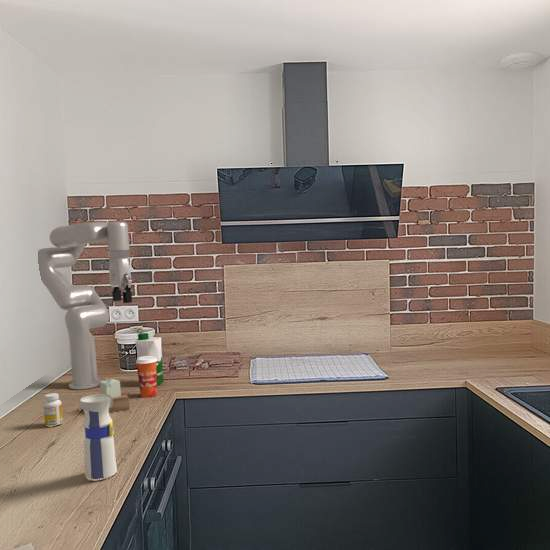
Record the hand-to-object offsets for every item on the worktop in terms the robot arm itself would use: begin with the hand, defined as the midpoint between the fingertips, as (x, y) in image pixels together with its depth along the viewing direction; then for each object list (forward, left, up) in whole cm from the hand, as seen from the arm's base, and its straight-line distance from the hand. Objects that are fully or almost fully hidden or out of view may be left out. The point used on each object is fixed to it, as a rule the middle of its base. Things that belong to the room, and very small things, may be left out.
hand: (122, 301), depth 228 cm
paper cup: (+9, +4, -34) cm, 36 cm away
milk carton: (-6, +12, -34) cm, 37 cm away
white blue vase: (+70, -36, -34) cm, 86 cm away
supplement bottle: (+19, -33, -34) cm, 51 cm away
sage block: (+16, -13, -30) cm, 36 cm away
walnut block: (+16, -13, -35) cm, 40 cm away
